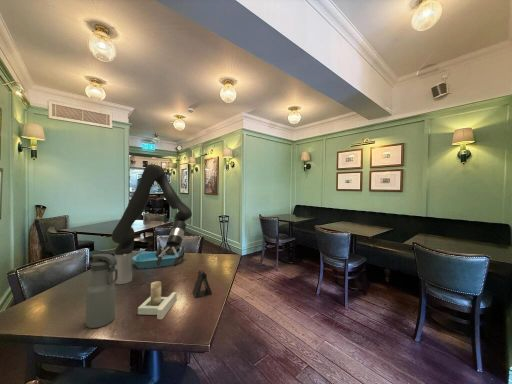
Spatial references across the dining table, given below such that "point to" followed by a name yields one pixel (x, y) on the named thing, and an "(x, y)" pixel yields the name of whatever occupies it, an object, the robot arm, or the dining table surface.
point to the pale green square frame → (150, 307)
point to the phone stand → (197, 287)
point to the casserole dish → (153, 260)
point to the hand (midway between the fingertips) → (166, 265)
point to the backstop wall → (166, 305)
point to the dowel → (156, 293)
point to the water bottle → (101, 291)
